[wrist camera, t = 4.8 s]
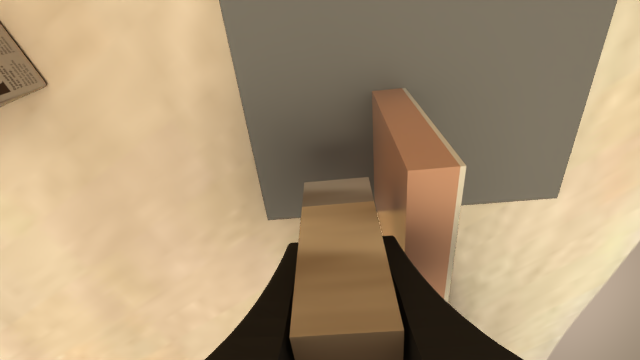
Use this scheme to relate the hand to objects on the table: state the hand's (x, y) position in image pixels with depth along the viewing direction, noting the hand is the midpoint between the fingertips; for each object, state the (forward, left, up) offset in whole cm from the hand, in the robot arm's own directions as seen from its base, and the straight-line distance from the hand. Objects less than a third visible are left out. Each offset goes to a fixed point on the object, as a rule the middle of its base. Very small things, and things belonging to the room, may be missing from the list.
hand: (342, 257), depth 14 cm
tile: (0, -3, -10) cm, 10 cm away
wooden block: (+1, 0, -3) cm, 3 cm away
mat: (+3, -5, -10) cm, 12 cm away
